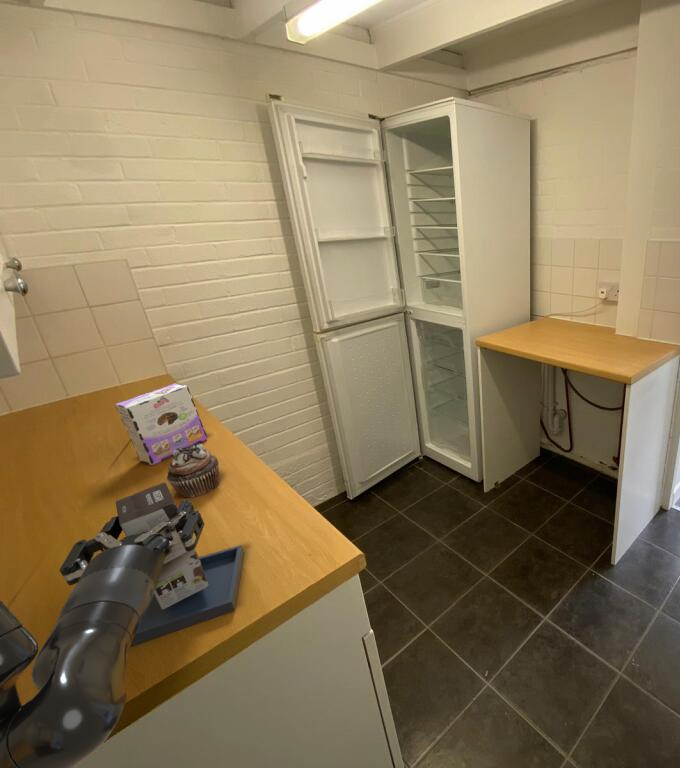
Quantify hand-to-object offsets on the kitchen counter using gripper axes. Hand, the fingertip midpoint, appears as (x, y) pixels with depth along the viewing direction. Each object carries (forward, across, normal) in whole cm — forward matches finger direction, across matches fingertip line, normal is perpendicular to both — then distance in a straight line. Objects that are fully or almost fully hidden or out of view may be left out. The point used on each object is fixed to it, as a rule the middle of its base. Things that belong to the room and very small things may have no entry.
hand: (153, 512), depth 63 cm
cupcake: (+33, +4, +16) cm, 37 cm away
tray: (-2, 0, +16) cm, 16 cm away
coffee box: (-1, 0, +14) cm, 14 cm away
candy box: (+55, +13, +16) cm, 59 cm away
